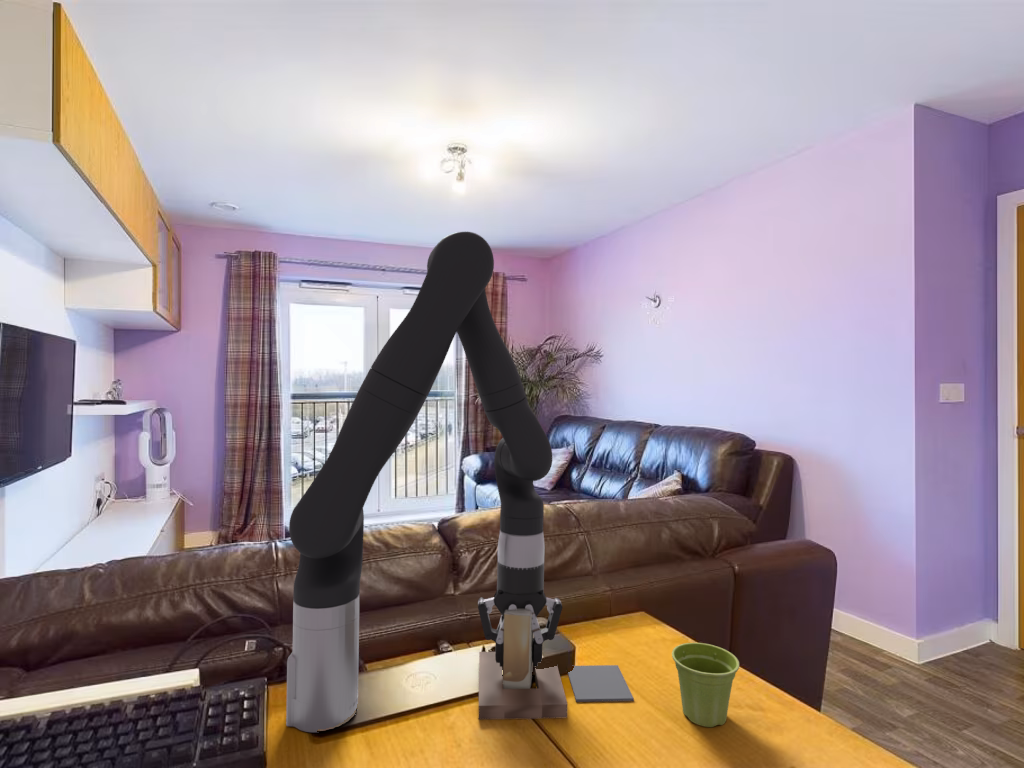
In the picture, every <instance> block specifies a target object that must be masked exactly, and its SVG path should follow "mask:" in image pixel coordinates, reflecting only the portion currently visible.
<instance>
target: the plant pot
mask: <svg viewBox="0 0 1024 768" xmlns="http://www.w3.org/2000/svg"><path fill="white" fill-rule="evenodd" d="M671 658H672V660H673V661H674V663H675V668H676V670H677V676H678V683H679V691H680V699H681V707H682V713H683V714H684V715H685V716H686V718H688V719H689V720H690V722H692V723H694V724H695V725H698V726H701V727H705V728H713V727H716V726H718V725H720V726H723V725H725V724H726V721H727V717H728V712H729V704H730V698H731V693H732V692H731V691H732V686H733V681H734V679H735V677H736V674H737V672H738V671H739V669H740V661H739V659H738V657H736V656H735V655H734V654H733V653H732V652H730V651H728V650H727V649H725V648H722V647H720V646H716V645H713V644H709V643H705V642H704V643H703V642H686V643H681V644H679V645H676V646H675V647H674V648H673V649H672V652H671Z"/></svg>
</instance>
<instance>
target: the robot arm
mask: <svg viewBox="0 0 1024 768" xmlns="http://www.w3.org/2000/svg"><path fill="white" fill-rule="evenodd" d="M494 259H495V258H494V254H493V250H492V248H491V246H490V245H489V242H488V241H487V240H486V239H485V238H484V237H483V236H481V235H480V234H478V233H476V232H472V231H456V232H453V233H450V234H448V235H446V236H445V237H443V238H442V239H441V240H439V242H438V243H437V244H436V245H435V246H434V247H433V249H432V250H431V252H430V254H429V256H428V259H427V263H426V270H427V271H426V274H425V277H424V279H423V282H422V285H421V287H420V289H419V292H418V293H417V295H416V298H415V300H414V302H413V304H412V306H411V308H410V309H409V311H408V313H407V314H406V316H405V317H404V318H403V320H401V322H400V324H399V325H398V326H397V327H396V329H395V330H394V331H393V333H392V334H391V336H390V337H389V338H388V339H387V341H386V342H385V344H384V346H383V347H382V349H381V350H380V351H379V353H378V355H377V356H376V357H375V360H374V361H373V363H372V364H371V366H370V368H369V369H368V372H367V374H366V376H365V377H364V379H363V381H362V383H361V385H360V387H359V389H358V391H357V393H356V396H355V397H354V400H353V402H352V404H351V406H350V409H349V411H348V412H347V414H346V417H345V419H344V422H343V423H342V426H341V428H340V430H339V433H338V435H337V438H336V440H335V442H334V445H333V447H332V448H331V449H332V450H331V451H330V453H329V455H328V457H327V458H326V460H325V462H324V463H323V465H322V467H321V468H320V469H319V471H318V473H317V475H316V476H315V477H314V479H313V480H312V482H311V484H310V486H309V487H308V488H307V490H306V491H305V492H304V494H303V495H302V496H301V498H300V499H299V501H298V502H297V504H296V505H295V507H294V508H293V510H292V513H291V515H290V517H289V526H288V530H289V531H288V533H289V537H290V541H291V543H292V545H293V547H294V548H295V549H296V550H297V551H298V553H299V562H298V567H297V571H296V575H295V577H294V581H293V596H292V597H293V599H292V600H293V602H292V603H293V605H292V608H293V609H292V652H291V653H290V655H289V656H288V658H287V661H286V709H285V710H286V716H285V717H286V718H285V722H286V723H285V725H286V727H294V728H296V729H298V730H299V731H301V732H307V733H318V732H317V730H318V729H326V728H329V727H334V726H336V725H338V724H339V723H342V722H344V720H346V719H347V718H348V717H350V716H351V715H352V714H353V713H354V711H355V710H356V708H357V704H358V703H359V657H360V656H359V655H360V654H359V652H360V649H359V648H360V647H359V646H360V644H359V643H360V641H359V640H360V590H361V589H360V586H361V579H362V578H361V576H362V570H363V561H364V560H363V557H364V556H363V555H364V529H365V528H364V525H365V518H364V517H365V515H364V506H365V504H366V502H367V499H368V496H369V494H370V493H371V490H372V488H373V486H374V484H375V481H376V479H378V478H377V477H379V475H380V473H381V471H382V470H383V468H384V467H385V465H386V464H387V462H388V461H389V460H390V458H391V457H392V455H393V454H394V453H395V451H396V450H397V448H398V447H399V446H400V444H401V443H402V442H403V440H404V439H405V437H406V435H407V434H408V432H409V431H410V429H411V428H412V426H413V424H414V422H415V421H416V420H417V417H418V415H419V414H420V412H421V410H422V407H423V406H424V404H425V402H426V401H427V398H428V396H429V395H430V392H431V390H432V388H433V385H434V383H435V381H436V379H437V377H438V375H439V373H440V370H441V368H442V366H443V364H444V361H445V359H446V357H447V355H448V353H449V350H450V347H451V345H452V342H453V340H454V338H455V336H456V334H457V336H458V337H459V340H460V343H461V345H462V349H463V352H464V354H465V356H466V359H467V363H468V366H469V369H470V372H471V375H472V378H473V382H474V384H475V387H476V390H477V393H478V396H479V399H480V402H481V405H482V408H483V410H484V413H485V415H486V418H487V420H488V422H489V423H490V424H491V425H492V426H493V427H494V428H495V429H497V430H498V431H499V433H500V434H501V436H502V438H501V439H500V440H499V442H498V444H497V446H496V448H495V453H494V462H493V463H494V473H495V479H496V486H497V487H496V488H497V491H498V495H499V501H500V512H499V514H500V516H499V537H498V541H497V552H496V553H497V569H496V570H497V574H496V575H497V576H496V591H495V593H494V594H493V595H494V596H493V597H488V598H484V597H479V599H478V600H477V609H478V614H479V619H480V622H481V623H480V624H481V627H482V630H483V634H484V635H483V636H484V638H485V640H486V641H493V642H494V643H495V650H494V652H495V660H496V662H497V663H500V667H503V664H504V612H505V610H507V611H516V609H522V608H524V609H525V610H526V611H531V612H532V631H533V650H532V662H533V667H536V666H538V663H541V661H542V651H543V643H544V642H545V641H547V640H550V641H552V640H554V639H555V635H556V634H557V633H556V632H557V629H558V626H559V622H560V618H561V614H562V611H563V604H562V601H561V599H560V598H559V597H555V598H550V597H547V596H546V594H545V591H544V587H545V586H544V585H545V581H544V580H545V537H544V515H545V511H544V510H545V509H544V500H543V498H542V496H541V495H539V493H537V491H536V489H535V487H534V482H537V481H540V480H542V479H543V478H545V477H547V475H548V474H549V473H550V471H551V469H552V468H551V467H552V465H553V451H552V446H551V443H550V441H549V438H548V436H547V434H546V432H545V430H544V429H543V427H542V424H541V423H540V421H539V419H538V417H537V416H536V414H535V413H534V412H533V410H532V408H531V407H530V404H529V402H528V397H527V394H526V391H525V389H524V386H523V382H522V379H521V376H520V373H519V371H518V368H517V366H516V364H515V361H514V359H513V357H512V355H511V353H510V351H509V349H508V348H507V346H506V344H505V342H504V339H503V338H502V337H501V335H500V333H499V329H498V328H497V326H496V323H495V320H494V318H493V316H492V313H491V310H490V307H489V303H488V299H487V293H486V287H487V286H488V285H489V283H490V281H491V280H492V277H493V274H494V269H495V260H494ZM494 606H495V607H496V608H497V610H498V612H499V613H500V619H499V623H498V625H497V628H496V629H495V628H493V626H492V623H491V620H490V614H491V613H492V611H493V607H494ZM545 606H547V607H546V609H547V612H548V617H547V621H546V625H545V628H543V629H541V627H540V624H539V620H538V617H537V616H538V615H539V614H540V613H541V611H542V610H543V608H544V607H545ZM358 705H359V704H358Z"/></svg>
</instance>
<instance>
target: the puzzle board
mask: <svg viewBox="0 0 1024 768" xmlns="http://www.w3.org/2000/svg"><path fill="white" fill-rule="evenodd" d="M478 654H479V657H478V659H479V660H478V662H479V663H478V670H479V671H478V720H521V719H522V720H526V719H529V720H530V719H531V720H532V719H567V718H568V701H567V697H566V694H565V689H564V685H563V683H562V679H561V675H560V671H559V667H558V665H557V666H554V667H549V668H544V669H536V668H535V677H534V682H535V688H530V689H503V676H502V670H503V667H500V663H497V662H496V660H495V651H479V652H478Z"/></svg>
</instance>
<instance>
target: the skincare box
mask: <svg viewBox="0 0 1024 768" xmlns="http://www.w3.org/2000/svg"><path fill="white" fill-rule="evenodd" d="M533 638H534V634H533V631H532V612H531V611H526V610H525V609H524V608H522V609H516V611H507V610H505V612H504V664H503V689H531V686H532V679H533V676H532V672H533V662H532V650H533Z"/></svg>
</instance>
